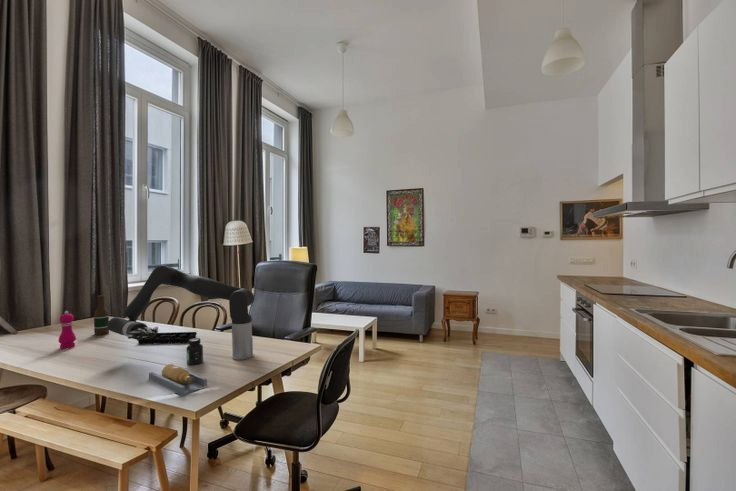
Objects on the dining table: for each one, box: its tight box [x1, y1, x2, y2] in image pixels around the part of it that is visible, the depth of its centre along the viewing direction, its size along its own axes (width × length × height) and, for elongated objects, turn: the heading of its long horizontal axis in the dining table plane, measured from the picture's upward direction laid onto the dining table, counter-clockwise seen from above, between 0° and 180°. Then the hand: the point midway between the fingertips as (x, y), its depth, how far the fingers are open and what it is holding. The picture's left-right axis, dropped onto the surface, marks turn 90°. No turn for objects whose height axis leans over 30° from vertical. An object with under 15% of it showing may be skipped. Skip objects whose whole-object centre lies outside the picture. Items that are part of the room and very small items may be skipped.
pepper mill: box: [58, 310, 77, 350], centre depth 194 cm, size 7×7×20 cm
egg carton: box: [136, 331, 198, 345], centre depth 204 cm, size 18×30×4 cm, turn 104°
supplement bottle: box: [185, 337, 204, 367], centre depth 164 cm, size 7×7×12 cm
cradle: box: [148, 370, 208, 398], centre depth 143 cm, size 26×10×4 cm, turn 55°
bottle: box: [161, 363, 195, 385], centre depth 142 cm, size 6×6×18 cm
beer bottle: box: [93, 294, 110, 336], centre depth 221 cm, size 8×8×24 cm
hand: (152, 334), depth 155 cm, fingers closed
